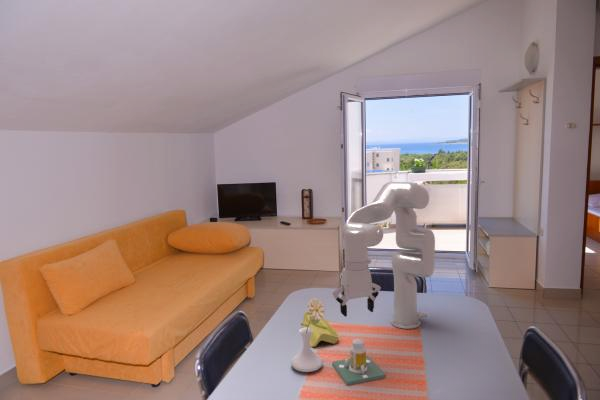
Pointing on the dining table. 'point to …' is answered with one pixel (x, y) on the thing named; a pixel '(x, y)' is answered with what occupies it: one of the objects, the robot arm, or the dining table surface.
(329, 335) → the plastic component
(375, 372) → the board
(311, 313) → the flower in vase
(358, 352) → the supplement bottle
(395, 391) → the dining table surface
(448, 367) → the dining table surface
